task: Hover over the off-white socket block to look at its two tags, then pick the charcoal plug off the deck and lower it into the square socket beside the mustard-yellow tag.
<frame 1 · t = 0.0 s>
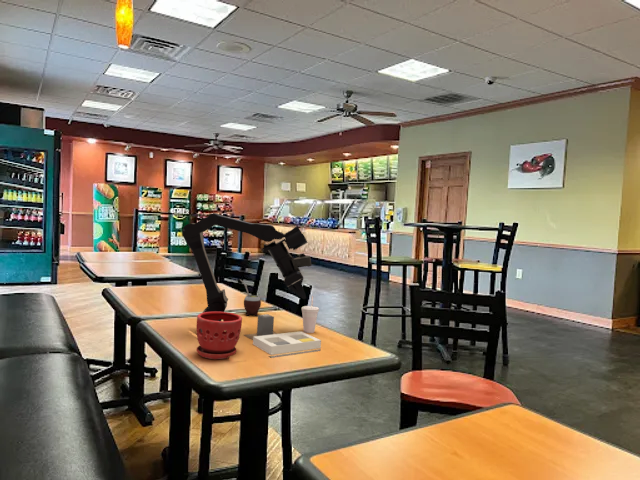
hand: (304, 296, 164), 15 cm above the table, tool tilted 35°, fingers open, 9 cm apart
deck: (264, 339, 161), on the table
smoothie: (308, 334, 171), on the table
plug: (264, 336, 161), point 1 cm above the table, touching deck
mate gourd: (250, 315, 197), on the table
plant pot: (217, 355, 141), on the table
socket block: (286, 349, 151), on the table
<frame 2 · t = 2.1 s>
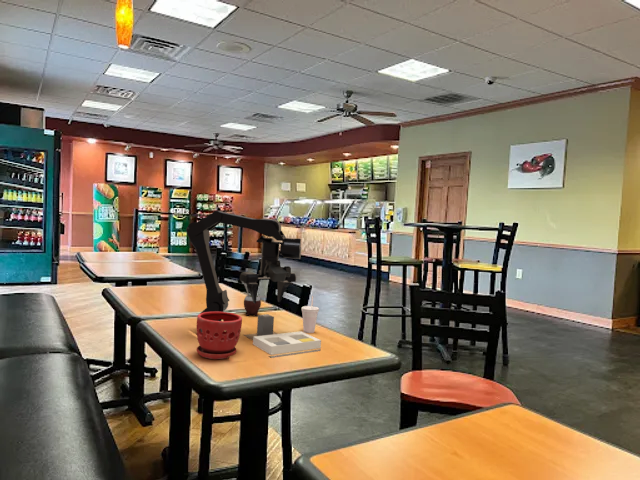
hand: (266, 302, 160), 13 cm above the table, tool pointing down, fingers open, 9 cm apart
nothing on the table moved.
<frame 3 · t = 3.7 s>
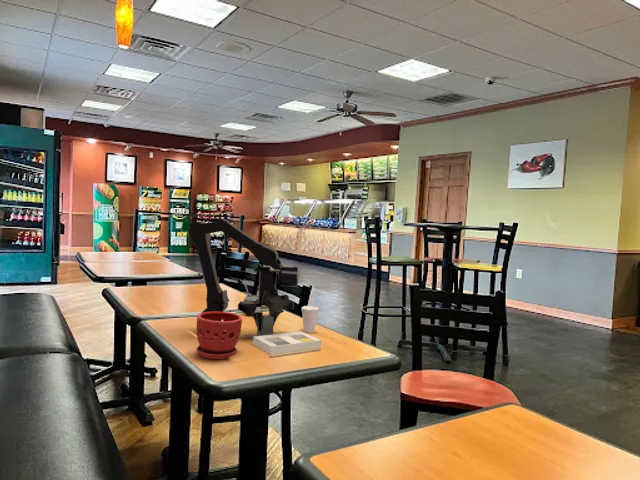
hand: (265, 330, 161), 3 cm above the table, tool pointing down, fingers closed on plug, 4 cm apart
plug: (264, 336, 161), point 1 cm above the table, touching deck, gripper
everything else where it was.
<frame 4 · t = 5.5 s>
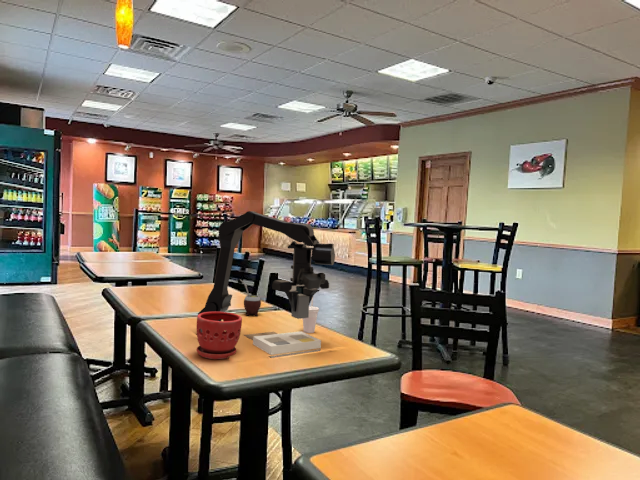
hand: (300, 310, 153), 12 cm above the table, tool pointing down, fingers closed on plug, 4 cm apart
plug: (299, 316, 153), point 10 cm above the table, touching gripper
everything else where it was.
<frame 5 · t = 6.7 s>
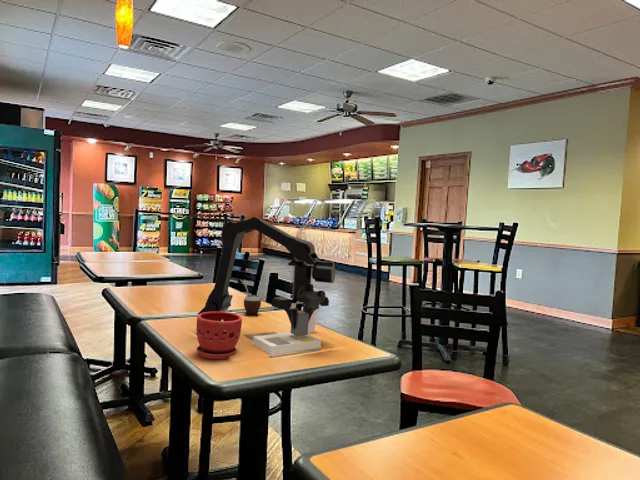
hand: (299, 328, 153), 6 cm above the table, tool pointing down, fingers closed on plug, 4 cm apart
plug: (299, 333, 153), point 4 cm above the table, touching gripper
everything else where it was.
when the fingers open (4 cm above the table, at t = 7.6 s): plug drops 1 cm, resting on socket block.
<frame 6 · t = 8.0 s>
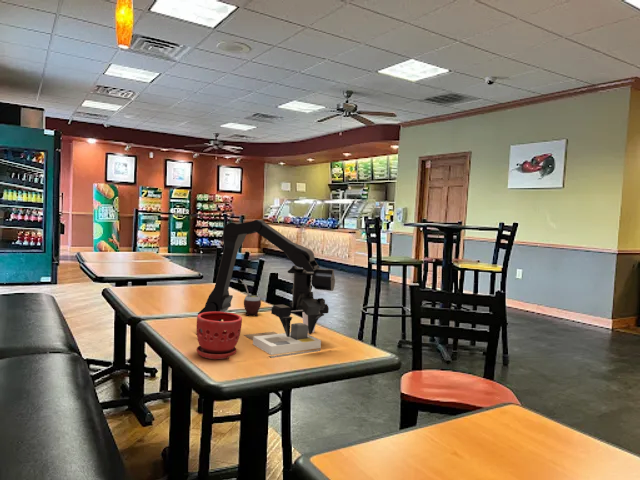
hand: (299, 335, 153), 4 cm above the table, tool pointing down, fingers open, 8 cm apart
plug: (298, 346, 154), resting on socket block
everything else where it was.
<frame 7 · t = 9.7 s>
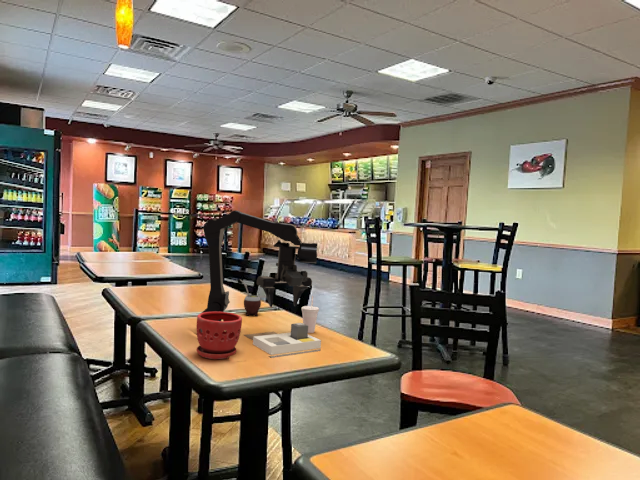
hand: (283, 306, 161), 12 cm above the table, tool pointing down, fingers open, 9 cm apart
nothing on the table moved.
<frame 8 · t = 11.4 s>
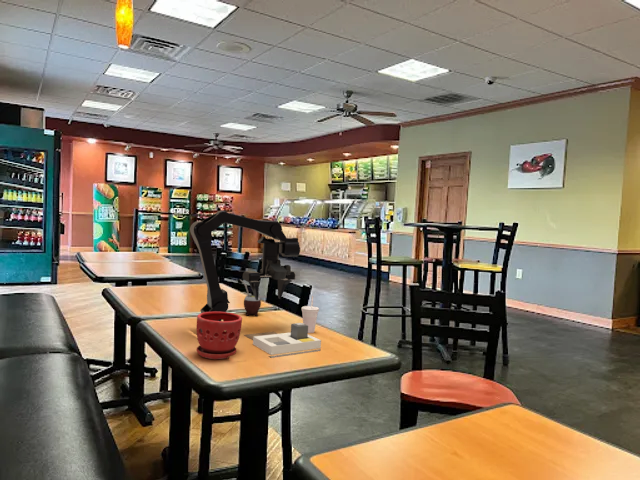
hand: (268, 299, 170), 12 cm above the table, tool pointing down, fingers open, 9 cm apart
nothing on the table moved.
at the end: plug 0.0 cm from the target spot on the socket block, point 0.5 cm above the socket block's base; plug tilted 0°; the gripper is holding nothing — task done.
